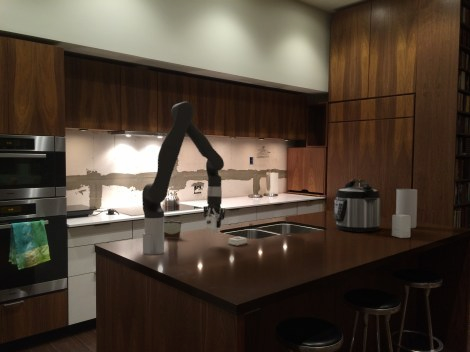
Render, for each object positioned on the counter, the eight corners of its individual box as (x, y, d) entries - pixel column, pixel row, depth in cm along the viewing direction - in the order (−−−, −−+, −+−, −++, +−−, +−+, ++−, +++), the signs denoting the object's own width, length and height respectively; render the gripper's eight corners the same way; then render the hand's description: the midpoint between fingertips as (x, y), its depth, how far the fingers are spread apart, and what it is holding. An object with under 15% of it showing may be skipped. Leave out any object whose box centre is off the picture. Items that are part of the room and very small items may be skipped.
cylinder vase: (391, 225, 264) (392, 189, 263) (406, 224, 268) (407, 188, 266) (404, 229, 252) (405, 190, 251) (420, 228, 256) (421, 190, 255)
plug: (211, 234, 199) (211, 218, 199) (203, 233, 203) (203, 216, 203) (221, 232, 205) (222, 216, 205) (213, 231, 209) (213, 215, 209)
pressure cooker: (336, 224, 269) (336, 178, 268) (379, 226, 260) (380, 179, 258) (331, 231, 241) (332, 180, 240) (380, 235, 232) (381, 182, 230)
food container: (184, 236, 226) (184, 219, 226) (182, 238, 220) (182, 220, 220) (163, 235, 228) (163, 218, 227) (160, 237, 221) (160, 220, 221)
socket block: (237, 246, 202) (237, 240, 201) (228, 244, 205) (228, 238, 205) (246, 243, 208) (246, 237, 207) (238, 241, 211) (238, 236, 211)
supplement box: (410, 237, 226) (411, 215, 225) (400, 238, 223) (401, 216, 223) (401, 234, 233) (401, 213, 232) (391, 235, 230) (391, 214, 230)
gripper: (199, 194, 206) (199, 226, 206) (219, 196, 196) (218, 229, 197) (209, 193, 211) (209, 224, 212) (229, 195, 202) (228, 227, 203)
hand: (213, 226), depth 205 cm, fingers closed on plug, 6 cm apart
